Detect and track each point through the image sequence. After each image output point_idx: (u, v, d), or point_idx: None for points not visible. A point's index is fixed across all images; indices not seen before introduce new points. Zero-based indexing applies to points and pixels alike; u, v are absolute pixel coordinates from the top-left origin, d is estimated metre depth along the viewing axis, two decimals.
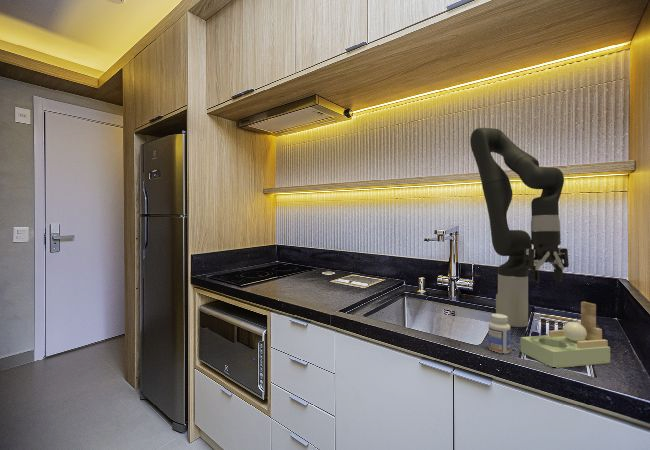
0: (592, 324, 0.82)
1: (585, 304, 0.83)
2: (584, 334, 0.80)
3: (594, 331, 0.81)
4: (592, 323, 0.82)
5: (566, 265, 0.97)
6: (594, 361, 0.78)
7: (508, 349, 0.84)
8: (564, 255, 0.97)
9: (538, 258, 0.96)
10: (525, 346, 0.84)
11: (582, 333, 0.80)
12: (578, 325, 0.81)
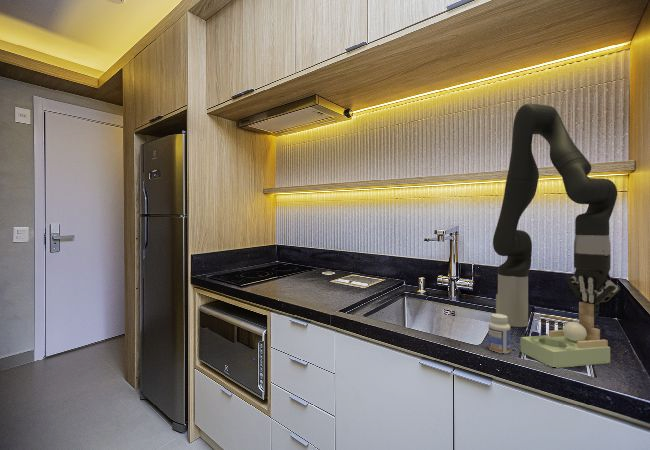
0: (590, 324, 0.82)
1: (583, 304, 0.83)
2: (584, 334, 0.80)
3: (592, 331, 0.81)
4: (590, 323, 0.82)
5: None
6: (594, 361, 0.78)
7: (508, 349, 0.84)
8: (579, 284, 0.88)
9: None
10: (525, 346, 0.84)
11: (582, 333, 0.80)
12: (578, 325, 0.81)
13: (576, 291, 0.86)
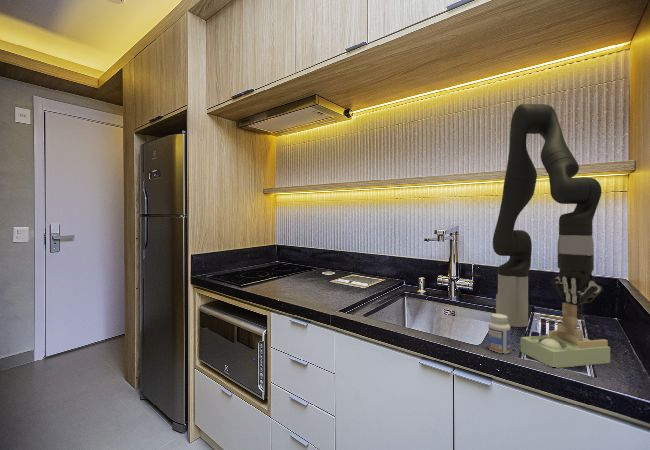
0: (573, 325, 0.81)
1: (566, 305, 0.82)
2: None
3: (575, 332, 0.80)
4: (573, 324, 0.81)
5: None
6: (594, 361, 0.78)
7: (508, 349, 0.84)
8: (563, 284, 0.87)
9: None
10: (525, 346, 0.84)
11: None
12: None
13: (560, 292, 0.85)
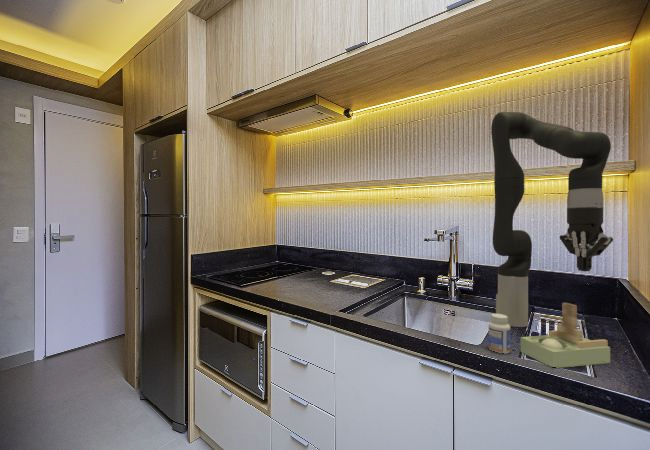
0: (573, 325, 0.81)
1: (566, 305, 0.82)
2: None
3: (575, 332, 0.80)
4: (573, 324, 0.81)
5: None
6: (594, 361, 0.78)
7: (508, 349, 0.84)
8: (572, 241, 0.87)
9: None
10: (525, 346, 0.84)
11: None
12: None
13: (569, 247, 0.86)
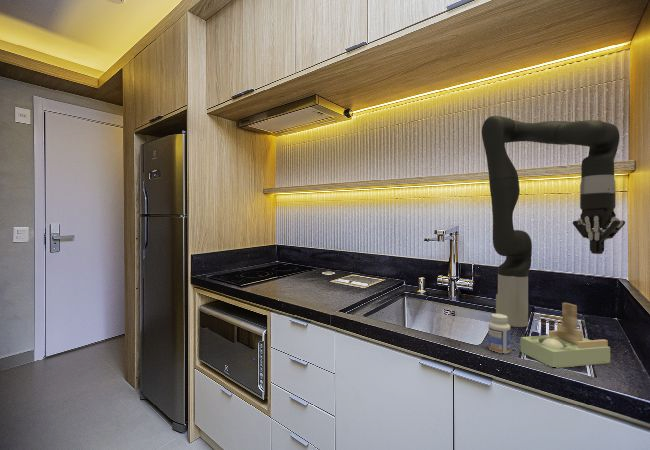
0: (573, 325, 0.81)
1: (566, 305, 0.82)
2: None
3: (575, 332, 0.80)
4: (573, 324, 0.81)
5: None
6: (594, 361, 0.78)
7: (508, 349, 0.84)
8: (585, 226, 0.92)
9: None
10: (525, 346, 0.84)
11: None
12: None
13: (582, 232, 0.90)
